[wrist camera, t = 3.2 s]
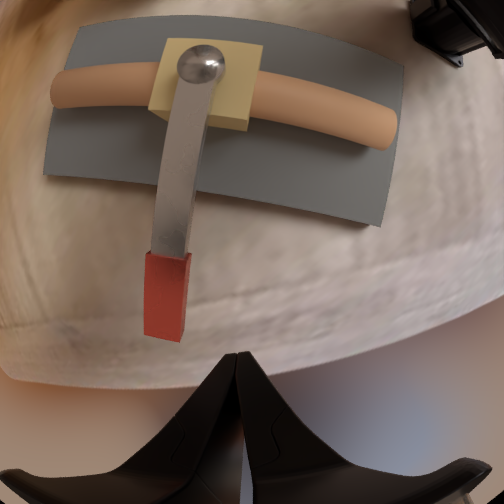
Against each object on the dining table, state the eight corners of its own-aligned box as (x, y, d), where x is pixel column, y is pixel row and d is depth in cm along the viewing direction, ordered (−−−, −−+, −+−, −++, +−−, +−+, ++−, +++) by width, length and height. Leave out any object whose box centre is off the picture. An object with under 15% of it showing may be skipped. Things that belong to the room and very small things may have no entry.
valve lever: (187, 52, 12) (182, 42, 10) (230, 55, 12) (229, 44, 10) (149, 322, 16) (142, 334, 15) (185, 330, 16) (181, 342, 15)
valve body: (395, 70, 17) (435, 48, 11) (372, 223, 21) (412, 242, 15) (87, 32, 15) (53, 8, 9) (52, 173, 19) (6, 178, 13)
